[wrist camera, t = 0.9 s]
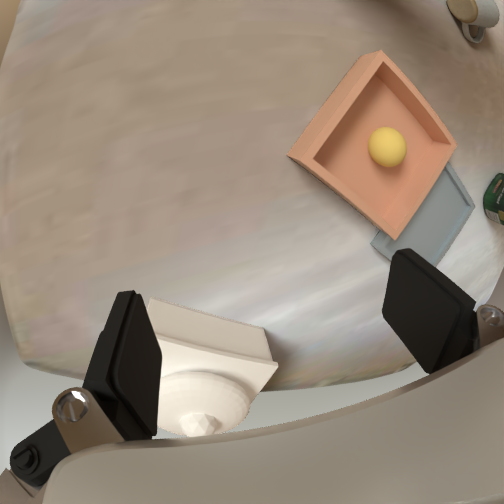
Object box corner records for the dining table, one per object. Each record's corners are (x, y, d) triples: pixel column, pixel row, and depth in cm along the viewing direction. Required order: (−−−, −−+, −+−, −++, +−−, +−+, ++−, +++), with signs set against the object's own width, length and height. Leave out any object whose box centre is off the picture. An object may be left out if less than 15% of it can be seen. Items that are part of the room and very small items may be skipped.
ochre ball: (373, 117, 31) (396, 119, 26) (397, 142, 33) (421, 147, 28) (353, 146, 32) (374, 152, 28) (378, 170, 34) (400, 179, 30)
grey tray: (433, 150, 35) (442, 153, 33) (468, 202, 40) (475, 206, 38) (370, 243, 40) (377, 249, 38) (414, 281, 45) (420, 287, 43)
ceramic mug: (436, -11, 22) (467, -19, 15) (461, -7, 22) (490, -12, 15) (460, 43, 27) (492, 42, 20) (481, 43, 27) (511, 42, 20)
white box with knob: (130, 371, 44) (118, 448, 30) (152, 292, 38) (133, 381, 24) (223, 392, 49) (233, 466, 35) (265, 324, 43) (292, 408, 29)
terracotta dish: (360, 56, 28) (381, 50, 23) (434, 139, 34) (457, 144, 30) (286, 155, 32) (299, 160, 28) (376, 226, 39) (395, 240, 34)
